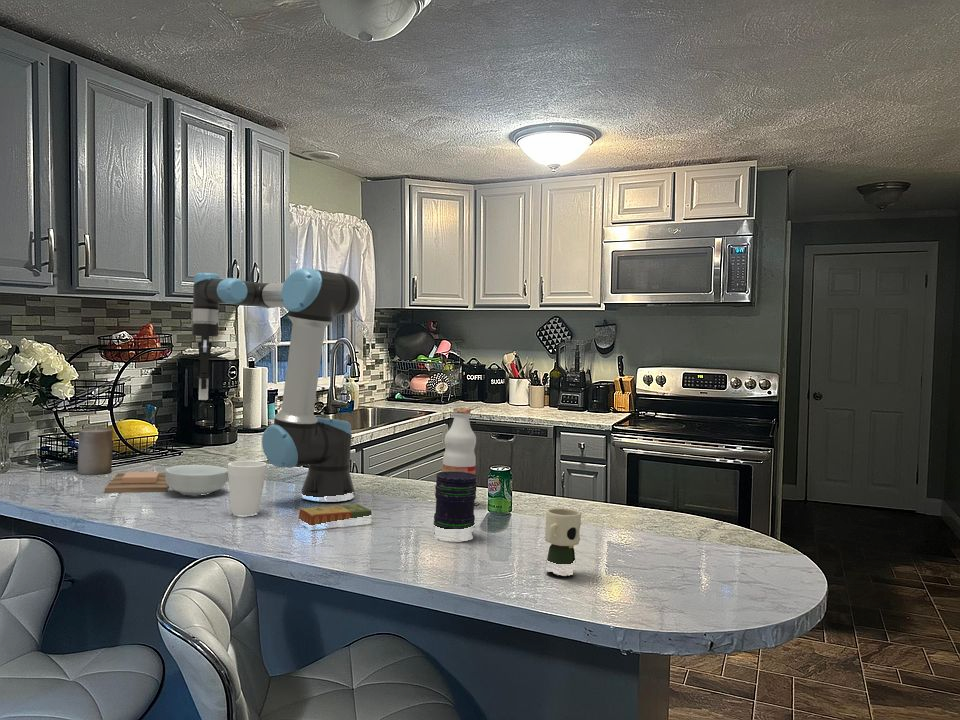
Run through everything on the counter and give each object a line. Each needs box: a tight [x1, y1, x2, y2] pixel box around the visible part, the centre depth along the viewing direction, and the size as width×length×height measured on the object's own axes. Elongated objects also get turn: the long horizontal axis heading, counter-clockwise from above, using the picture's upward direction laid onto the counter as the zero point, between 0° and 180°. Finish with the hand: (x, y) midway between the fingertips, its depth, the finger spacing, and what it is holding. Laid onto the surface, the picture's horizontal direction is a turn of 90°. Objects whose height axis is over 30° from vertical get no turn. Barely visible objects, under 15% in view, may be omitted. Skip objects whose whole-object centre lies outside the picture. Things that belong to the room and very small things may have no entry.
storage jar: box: [433, 471, 477, 529], centre depth 171 cm, size 10×10×15 cm
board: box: [104, 472, 170, 494], centre depth 213 cm, size 24×16×1 cm, turn 19°
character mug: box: [544, 507, 582, 564], centre depth 146 cm, size 11×7×13 cm, turn 148°
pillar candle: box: [77, 425, 114, 476], centre depth 227 cm, size 10×10×15 cm
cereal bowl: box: [164, 464, 229, 496], centre depth 204 cm, size 17×17×7 cm
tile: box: [122, 471, 160, 484], centre depth 212 cm, size 2×9×9 cm
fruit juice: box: [442, 407, 477, 475], centre depth 205 cm, size 9×9×28 cm
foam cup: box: [227, 460, 268, 515], centre depth 183 cm, size 10×9×13 cm
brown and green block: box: [298, 503, 373, 525], centre depth 178 cm, size 8×16×4 cm, turn 124°
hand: (203, 399), depth 221 cm, fingers closed
